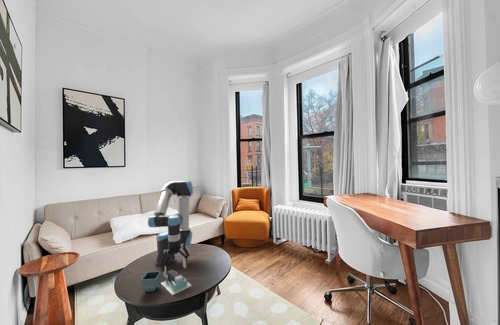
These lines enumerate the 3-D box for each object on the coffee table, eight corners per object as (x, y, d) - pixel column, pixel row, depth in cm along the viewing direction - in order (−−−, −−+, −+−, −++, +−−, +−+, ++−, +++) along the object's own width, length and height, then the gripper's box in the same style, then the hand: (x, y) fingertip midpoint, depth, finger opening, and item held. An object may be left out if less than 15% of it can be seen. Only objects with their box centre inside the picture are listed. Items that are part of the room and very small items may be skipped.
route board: (160, 283, 136) (160, 277, 136) (179, 275, 146) (179, 269, 146) (172, 295, 125) (172, 288, 125) (191, 285, 134) (191, 279, 134)
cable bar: (167, 280, 139) (166, 271, 139) (173, 277, 142) (173, 268, 142) (176, 289, 130) (176, 279, 130) (183, 286, 133) (182, 276, 133)
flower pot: (147, 285, 135) (146, 271, 135) (161, 284, 135) (160, 271, 135) (141, 294, 126) (140, 279, 126) (156, 293, 127) (155, 278, 127)
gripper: (157, 247, 124) (158, 282, 125) (194, 235, 142) (194, 266, 143) (152, 244, 130) (153, 277, 131) (188, 233, 148) (189, 262, 148)
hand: (174, 271), depth 137 cm, fingers open, 13 cm apart
